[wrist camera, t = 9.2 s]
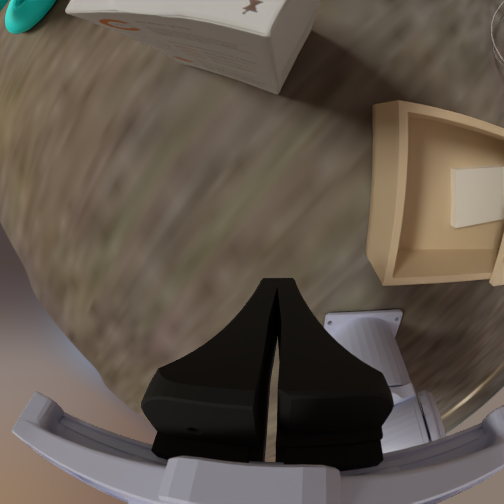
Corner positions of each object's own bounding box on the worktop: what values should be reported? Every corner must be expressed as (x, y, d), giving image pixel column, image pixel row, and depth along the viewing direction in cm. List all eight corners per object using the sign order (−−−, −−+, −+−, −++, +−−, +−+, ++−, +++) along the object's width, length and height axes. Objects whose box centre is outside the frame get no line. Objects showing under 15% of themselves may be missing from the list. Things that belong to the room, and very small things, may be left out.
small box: (312, 29, 14) (347, -78, 2) (278, 97, 17) (271, 43, 5) (212, -1, 13) (139, -94, 2) (178, 63, 16) (58, 16, 4)
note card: (500, 215, 17) (504, 218, 16) (450, 224, 18) (455, 228, 18) (502, 165, 15) (507, 166, 14) (450, 168, 16) (455, 169, 16)
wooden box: (504, 251, 19) (530, 274, 15) (365, 253, 21) (382, 285, 17) (521, 142, 14) (553, 152, 9) (371, 104, 16) (398, 100, 12)
